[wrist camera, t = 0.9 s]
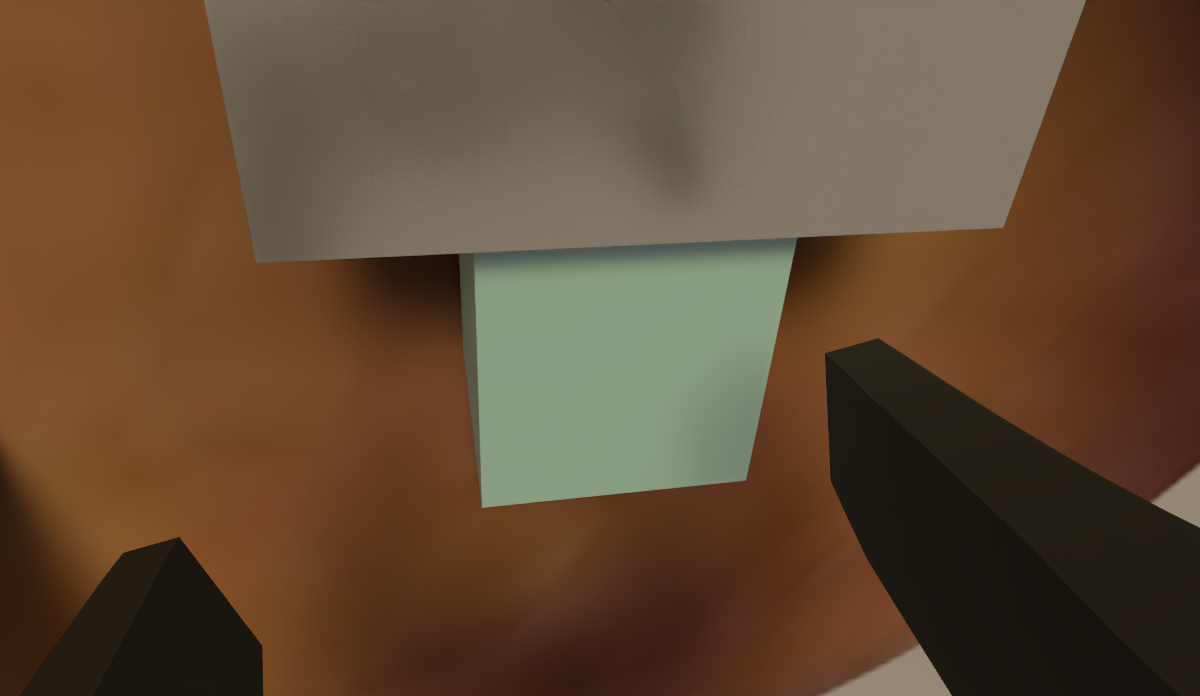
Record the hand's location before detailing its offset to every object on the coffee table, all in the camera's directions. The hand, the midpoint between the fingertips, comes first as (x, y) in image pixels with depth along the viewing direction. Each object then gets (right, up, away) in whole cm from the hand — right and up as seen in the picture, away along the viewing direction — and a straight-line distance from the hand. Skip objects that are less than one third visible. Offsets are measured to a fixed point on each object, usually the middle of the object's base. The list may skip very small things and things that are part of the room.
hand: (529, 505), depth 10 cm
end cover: (0, +6, +8) cm, 10 cm away
